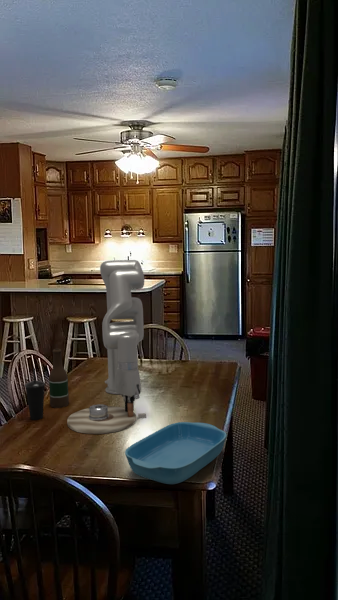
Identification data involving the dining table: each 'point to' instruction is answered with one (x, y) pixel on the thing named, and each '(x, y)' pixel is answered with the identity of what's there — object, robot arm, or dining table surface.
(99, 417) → the cover
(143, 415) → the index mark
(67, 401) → the beer bottle
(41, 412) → the drinking cup
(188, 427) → the casserole dish
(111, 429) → the turntable
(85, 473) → the dining table surface
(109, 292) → the robot arm
